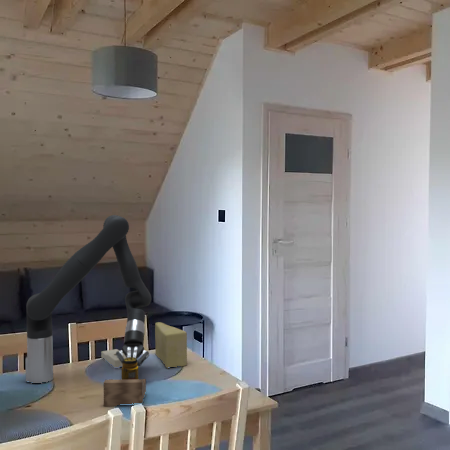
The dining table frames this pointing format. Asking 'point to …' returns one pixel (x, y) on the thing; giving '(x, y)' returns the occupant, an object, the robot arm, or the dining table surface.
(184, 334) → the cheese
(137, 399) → the dark wood block
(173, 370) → the dining table surface
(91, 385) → the dining table surface
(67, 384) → the dining table surface
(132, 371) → the condiment
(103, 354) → the electrical outlet
